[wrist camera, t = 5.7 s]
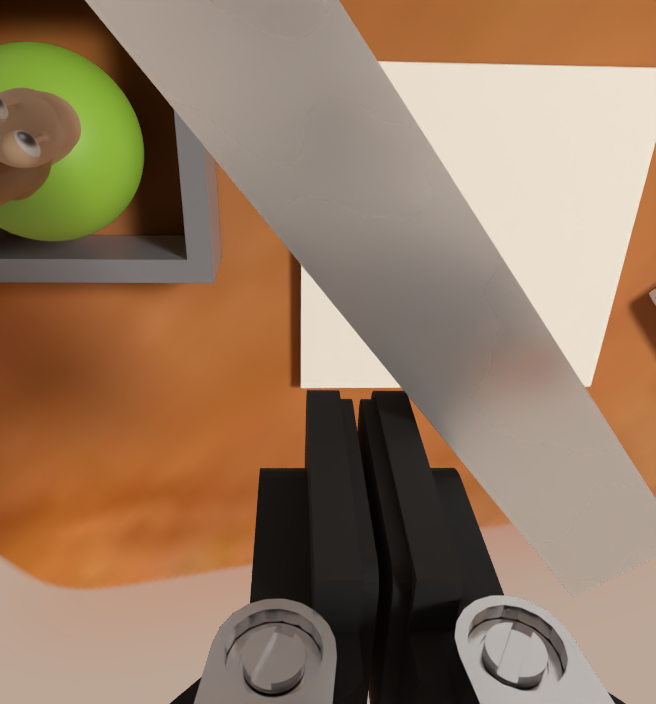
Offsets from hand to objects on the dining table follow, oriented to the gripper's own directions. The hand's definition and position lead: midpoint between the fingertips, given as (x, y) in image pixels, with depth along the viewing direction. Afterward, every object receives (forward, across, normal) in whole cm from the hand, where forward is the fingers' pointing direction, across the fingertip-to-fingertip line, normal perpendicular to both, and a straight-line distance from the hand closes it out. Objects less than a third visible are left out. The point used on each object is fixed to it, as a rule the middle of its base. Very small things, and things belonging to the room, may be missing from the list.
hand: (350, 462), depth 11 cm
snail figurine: (+13, +8, -4) cm, 16 cm away
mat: (+13, -5, 0) cm, 14 cm away
